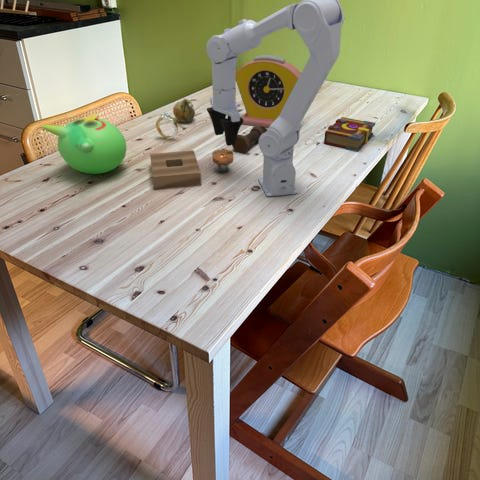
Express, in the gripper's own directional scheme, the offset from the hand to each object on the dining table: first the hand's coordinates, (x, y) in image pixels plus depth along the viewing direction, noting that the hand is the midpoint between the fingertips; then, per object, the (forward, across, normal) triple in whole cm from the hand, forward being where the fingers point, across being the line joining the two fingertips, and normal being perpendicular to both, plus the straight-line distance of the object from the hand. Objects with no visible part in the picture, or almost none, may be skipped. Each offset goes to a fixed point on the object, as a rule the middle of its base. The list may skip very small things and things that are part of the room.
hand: (224, 139), depth 117 cm
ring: (+9, +26, +8) cm, 29 cm away
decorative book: (+9, +3, -44) cm, 45 cm away
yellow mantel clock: (+9, +27, -27) cm, 39 cm away
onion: (+9, +40, -2) cm, 40 cm away
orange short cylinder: (+8, -1, +1) cm, 9 cm away
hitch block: (+8, +2, +14) cm, 16 cm away
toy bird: (+9, +14, +33) cm, 36 cm away
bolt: (+9, +12, -14) cm, 21 cm away
